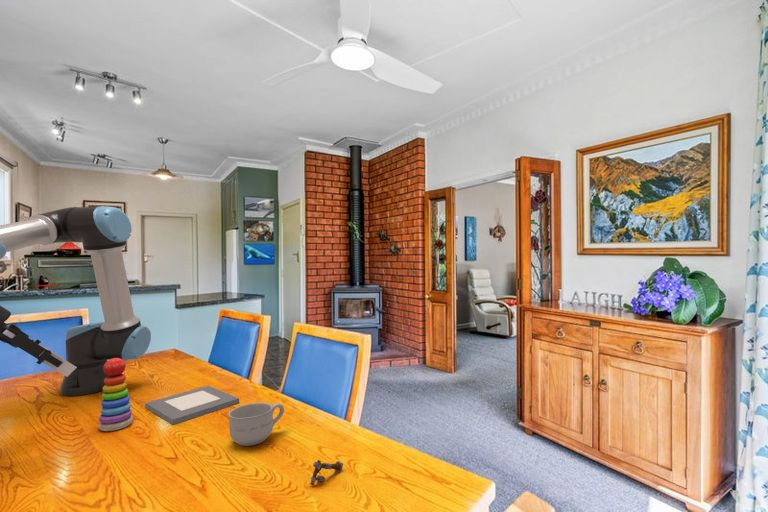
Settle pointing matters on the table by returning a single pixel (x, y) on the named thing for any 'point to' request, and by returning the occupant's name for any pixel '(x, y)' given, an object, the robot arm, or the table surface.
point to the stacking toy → (115, 398)
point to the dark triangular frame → (319, 465)
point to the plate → (191, 404)
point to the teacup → (253, 422)
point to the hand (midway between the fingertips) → (65, 367)
